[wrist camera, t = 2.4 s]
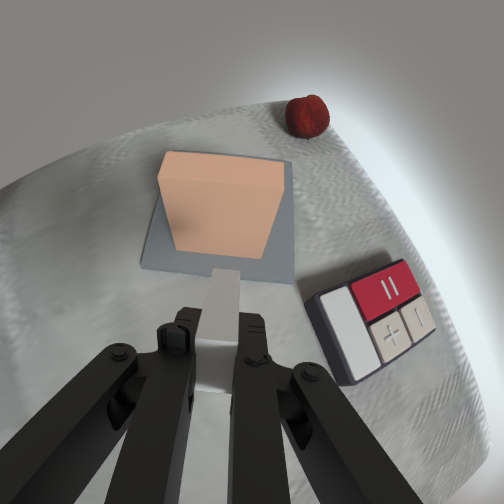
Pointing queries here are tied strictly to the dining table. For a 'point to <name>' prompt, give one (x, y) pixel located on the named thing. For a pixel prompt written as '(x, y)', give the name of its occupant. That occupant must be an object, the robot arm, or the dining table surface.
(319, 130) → the apple
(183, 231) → the block
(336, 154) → the dining table surface
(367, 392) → the dining table surface
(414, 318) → the calculator
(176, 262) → the mat
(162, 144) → the dining table surface
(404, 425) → the dining table surface
